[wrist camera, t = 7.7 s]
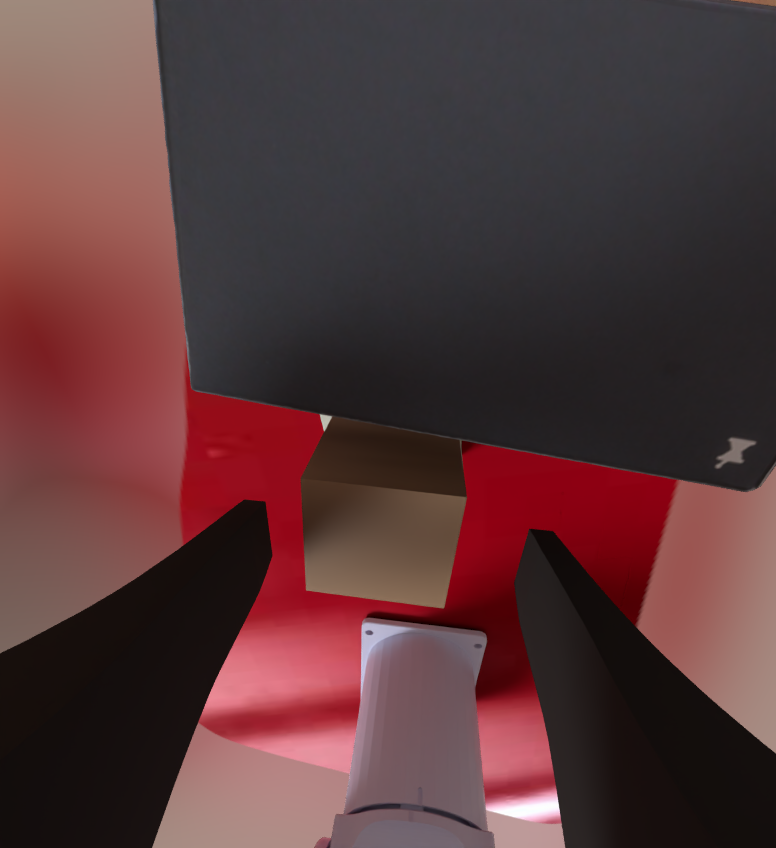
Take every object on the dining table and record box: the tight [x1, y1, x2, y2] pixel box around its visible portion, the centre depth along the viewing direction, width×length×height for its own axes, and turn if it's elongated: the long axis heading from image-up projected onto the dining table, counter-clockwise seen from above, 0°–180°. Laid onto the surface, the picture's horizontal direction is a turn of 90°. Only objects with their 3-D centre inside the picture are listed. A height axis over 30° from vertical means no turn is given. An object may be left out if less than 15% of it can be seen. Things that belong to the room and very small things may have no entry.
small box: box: [153, 0, 776, 492], centre depth 10 cm, size 11×6×10 cm, turn 82°
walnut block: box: [301, 417, 467, 608], centre depth 12 cm, size 4×4×5 cm
